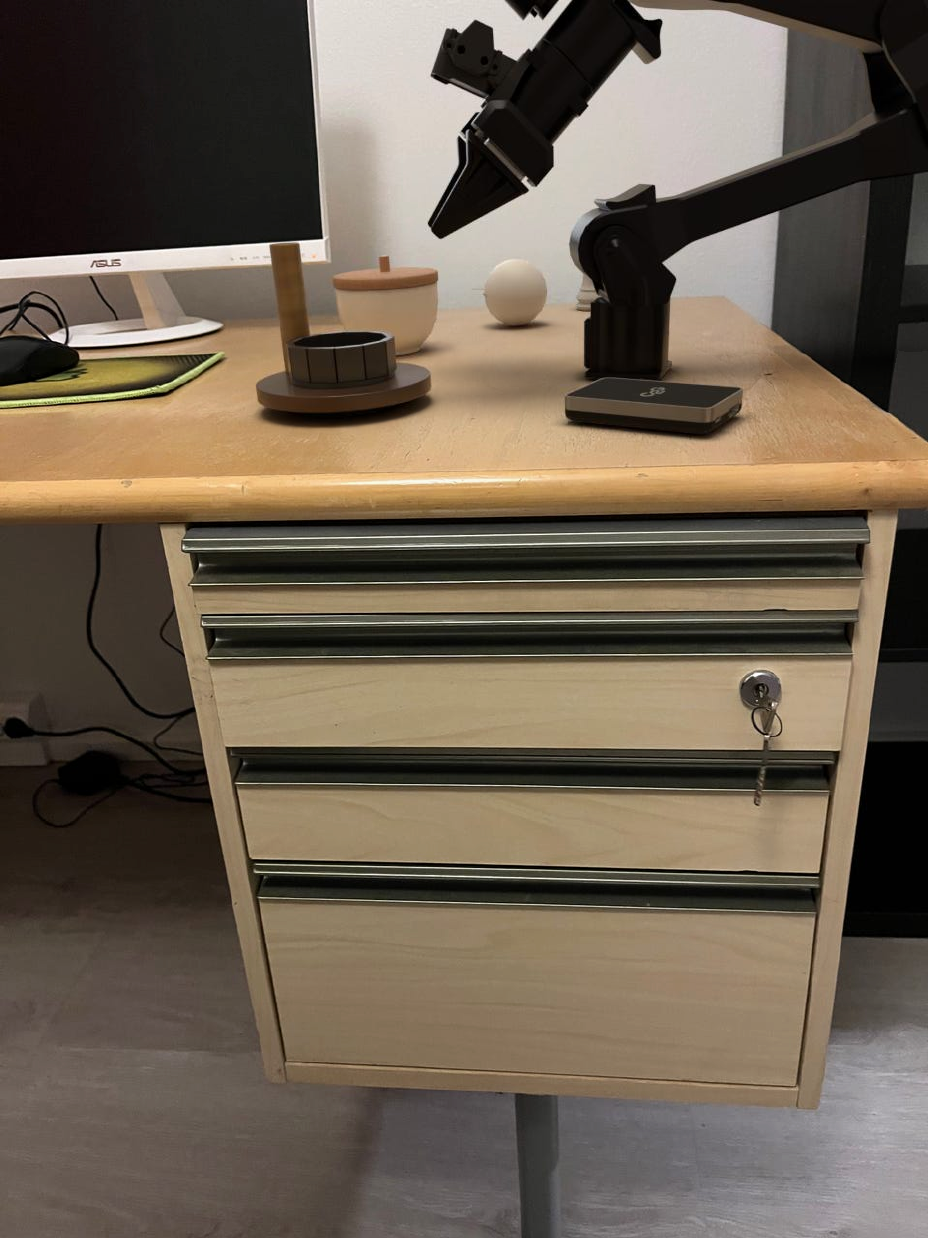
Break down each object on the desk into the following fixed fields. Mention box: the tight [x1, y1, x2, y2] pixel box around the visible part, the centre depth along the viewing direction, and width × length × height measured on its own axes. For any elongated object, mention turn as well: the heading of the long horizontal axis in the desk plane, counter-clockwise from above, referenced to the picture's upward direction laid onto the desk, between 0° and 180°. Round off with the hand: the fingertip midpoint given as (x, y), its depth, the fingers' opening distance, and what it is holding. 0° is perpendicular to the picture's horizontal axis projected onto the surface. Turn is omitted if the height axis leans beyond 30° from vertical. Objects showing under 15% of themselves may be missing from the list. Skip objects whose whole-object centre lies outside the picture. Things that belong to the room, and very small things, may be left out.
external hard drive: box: [564, 378, 744, 435], centre depth 68 cm, size 7×11×2 cm, turn 56°
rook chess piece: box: [575, 273, 601, 312], centre depth 120 cm, size 4×4×8 cm
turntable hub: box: [299, 405, 394, 418], centre depth 77 cm, size 8×8×1 cm
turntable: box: [255, 241, 432, 413], centre depth 75 cm, size 14×14×11 cm
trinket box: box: [332, 254, 439, 356], centre depth 98 cm, size 11×11×9 cm
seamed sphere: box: [470, 258, 548, 326], centre depth 111 cm, size 10×7×7 cm
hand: (433, 231), depth 78 cm, fingers open, 9 cm apart
